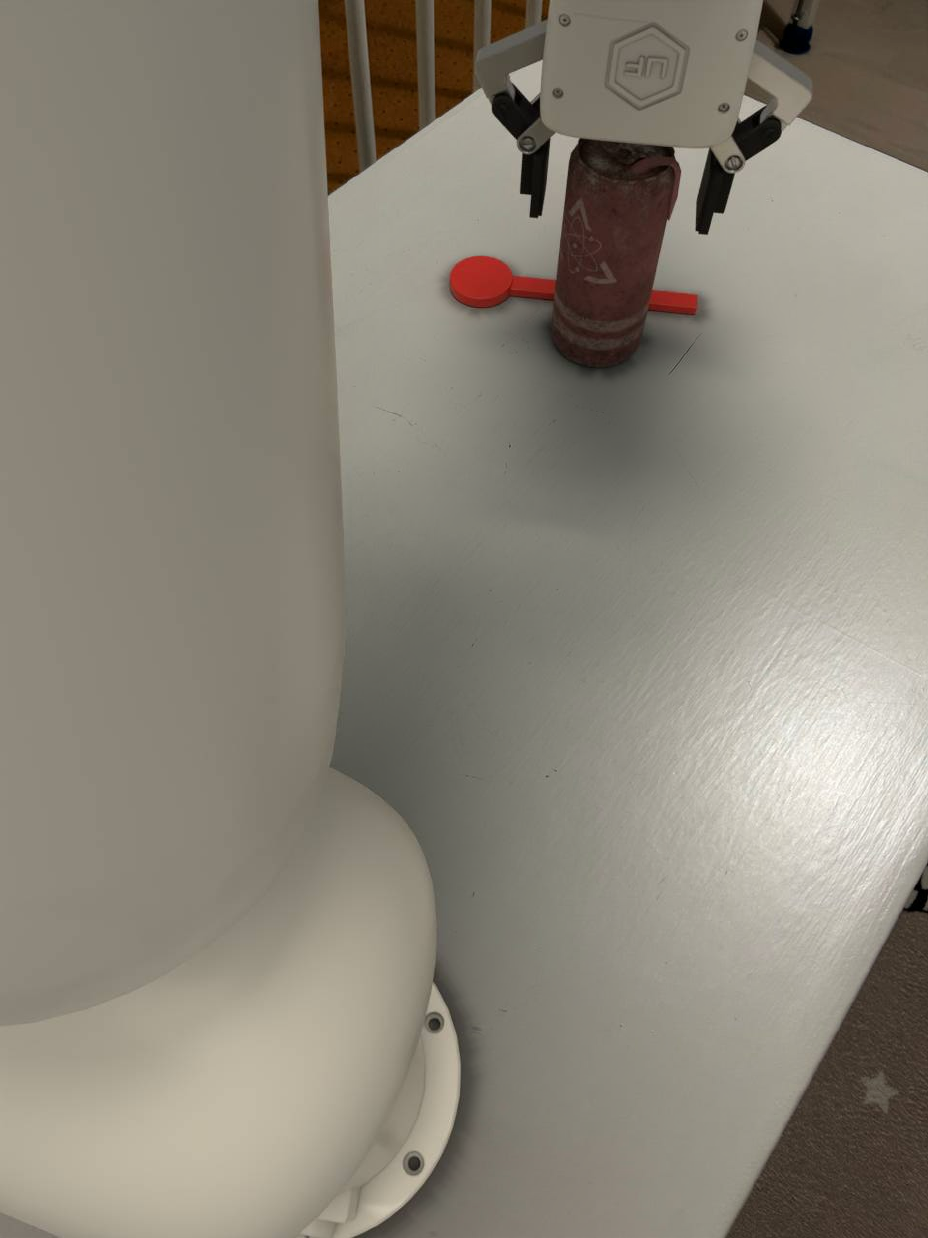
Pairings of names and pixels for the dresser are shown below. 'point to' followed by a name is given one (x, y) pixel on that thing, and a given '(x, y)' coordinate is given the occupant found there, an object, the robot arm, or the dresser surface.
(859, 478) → the dresser surface
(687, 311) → the spoon
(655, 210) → the can
